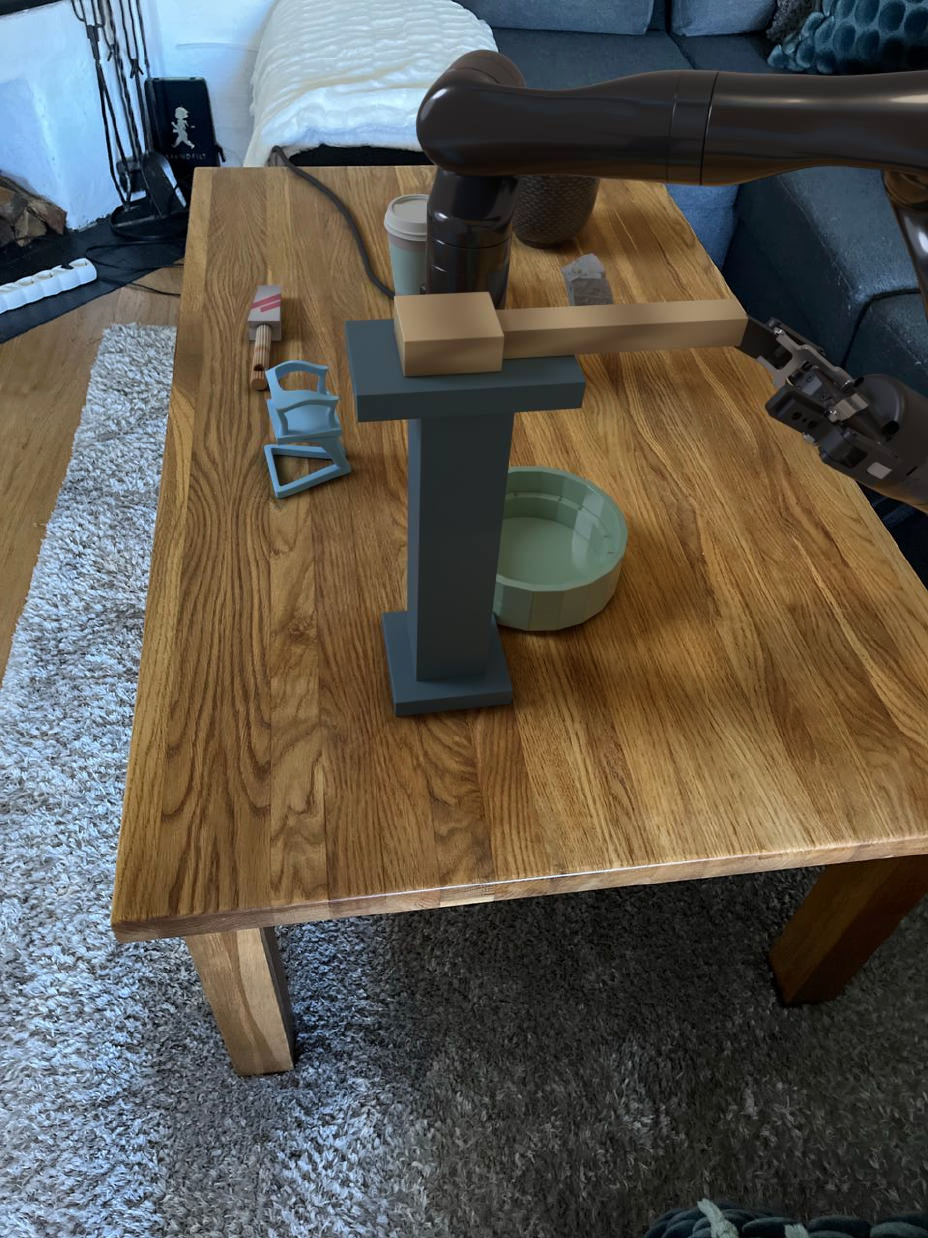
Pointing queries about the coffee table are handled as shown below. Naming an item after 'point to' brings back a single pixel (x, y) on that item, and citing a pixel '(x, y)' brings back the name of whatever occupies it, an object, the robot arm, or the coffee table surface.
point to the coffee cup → (407, 242)
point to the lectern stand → (451, 510)
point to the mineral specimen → (587, 282)
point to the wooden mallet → (549, 330)
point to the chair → (304, 426)
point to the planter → (553, 209)
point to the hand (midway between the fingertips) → (752, 359)
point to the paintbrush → (264, 330)
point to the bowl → (556, 550)
